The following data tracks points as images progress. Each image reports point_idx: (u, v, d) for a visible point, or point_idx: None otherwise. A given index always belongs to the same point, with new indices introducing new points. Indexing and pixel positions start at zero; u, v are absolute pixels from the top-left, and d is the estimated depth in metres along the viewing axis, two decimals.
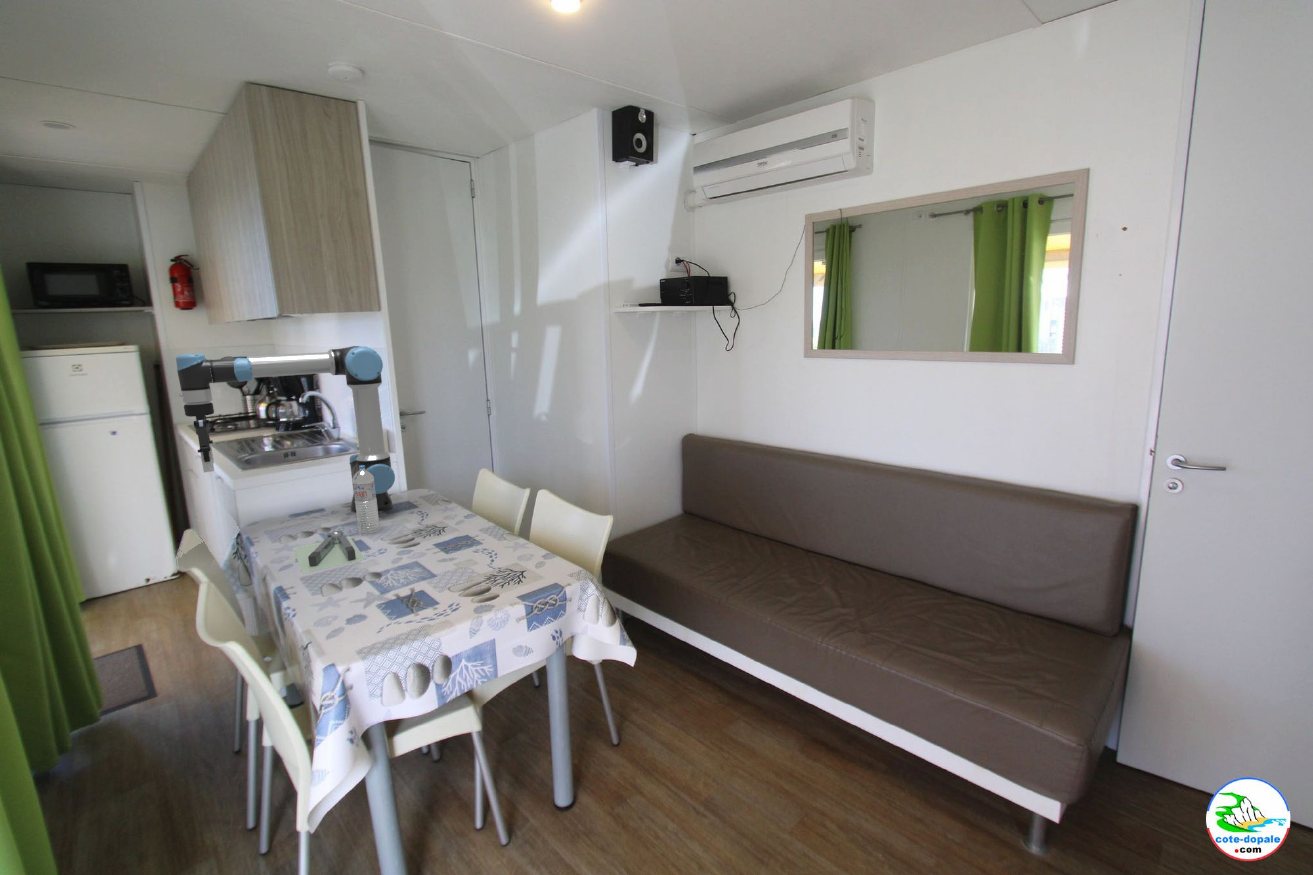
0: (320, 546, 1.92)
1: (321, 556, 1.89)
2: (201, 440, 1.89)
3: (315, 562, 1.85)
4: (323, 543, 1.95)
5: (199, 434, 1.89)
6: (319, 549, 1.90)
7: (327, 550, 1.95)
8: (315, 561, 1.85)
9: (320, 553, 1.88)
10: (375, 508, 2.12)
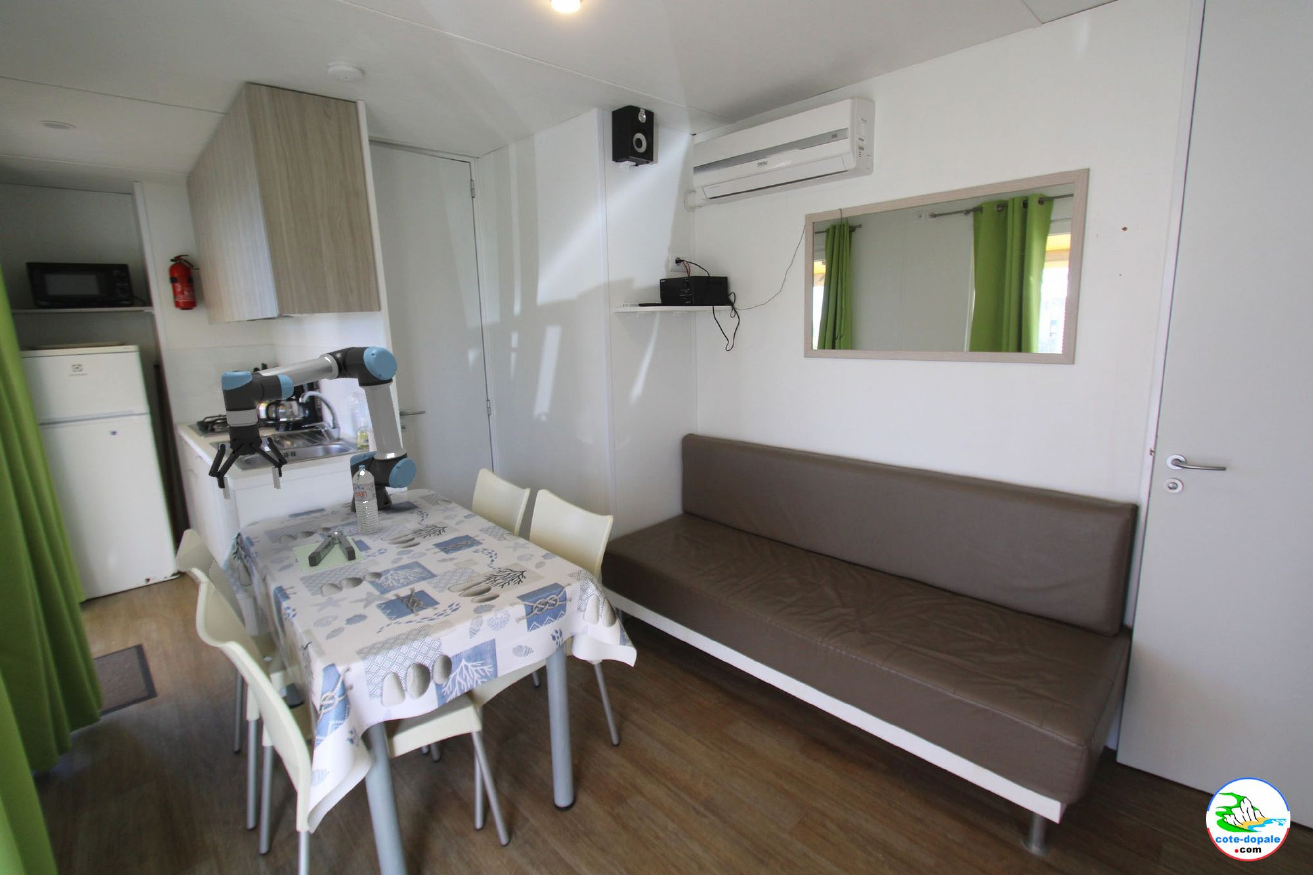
0: (320, 546, 1.92)
1: (321, 556, 1.89)
2: (212, 465, 1.76)
3: (315, 562, 1.85)
4: (323, 543, 1.95)
5: (215, 458, 1.77)
6: (319, 549, 1.90)
7: (327, 550, 1.95)
8: (315, 561, 1.85)
9: (320, 553, 1.88)
10: (375, 508, 2.12)
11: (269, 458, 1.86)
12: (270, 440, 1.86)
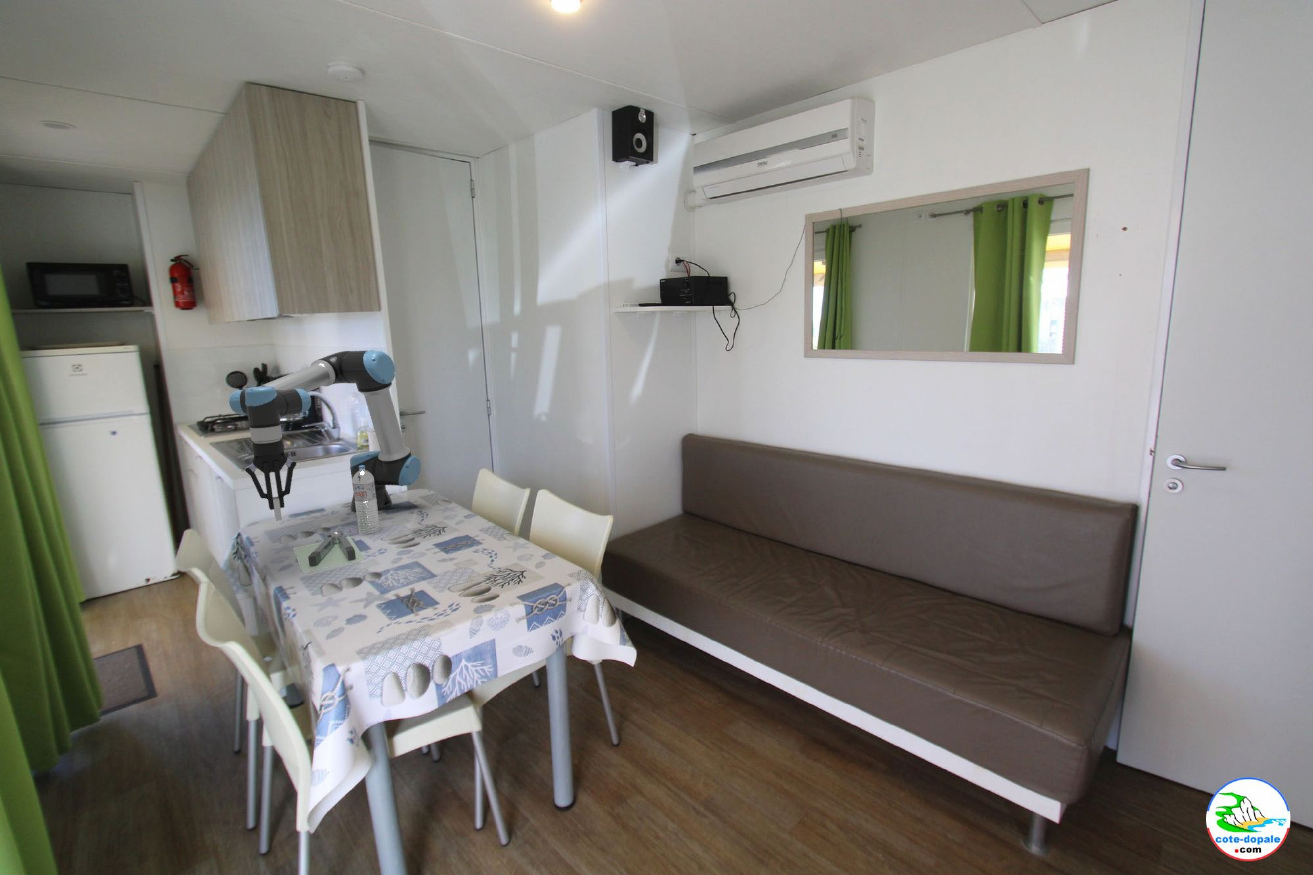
0: (320, 546, 1.92)
1: (321, 556, 1.89)
2: None
3: (315, 562, 1.85)
4: (323, 543, 1.95)
5: None
6: (319, 549, 1.90)
7: (327, 550, 1.95)
8: (315, 561, 1.85)
9: (320, 553, 1.88)
10: (375, 508, 2.12)
11: (278, 483, 1.78)
12: (293, 465, 1.79)
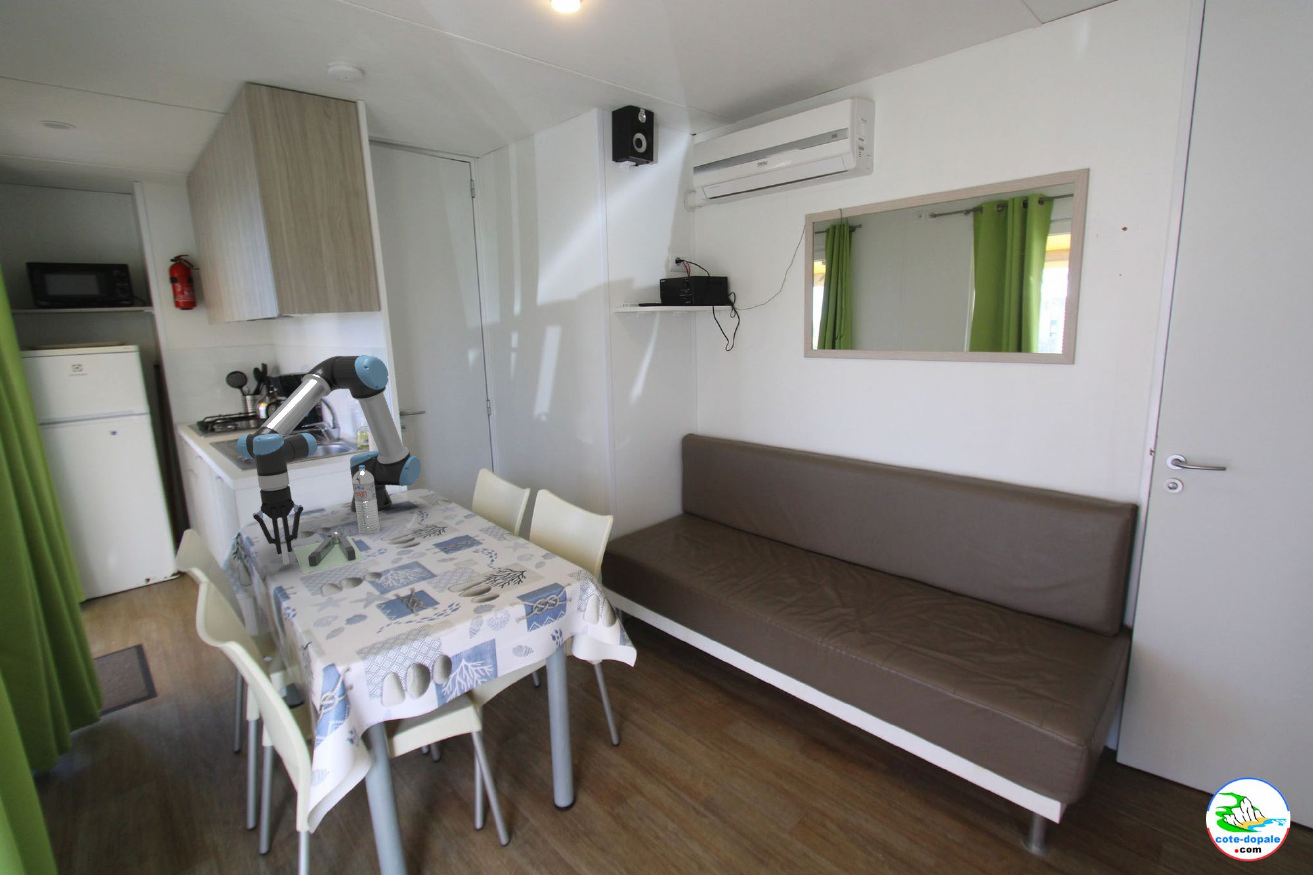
0: (320, 546, 1.92)
1: (321, 556, 1.89)
2: None
3: (315, 562, 1.85)
4: (323, 543, 1.95)
5: None
6: (319, 549, 1.90)
7: (327, 550, 1.95)
8: (315, 561, 1.85)
9: (320, 553, 1.88)
10: (375, 508, 2.12)
11: (286, 528, 1.80)
12: (300, 510, 1.82)
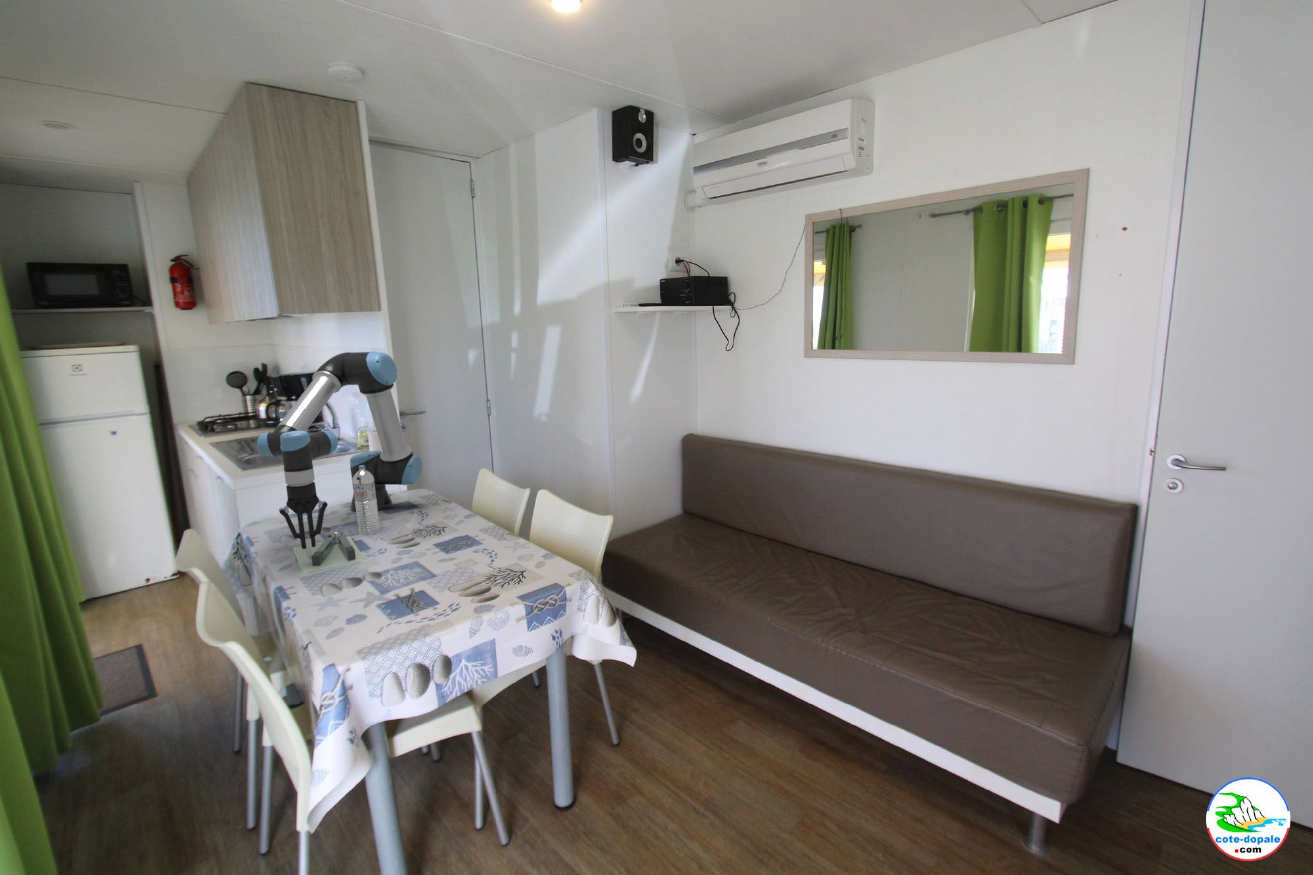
0: (322, 546, 1.92)
1: (324, 556, 1.89)
2: None
3: (319, 562, 1.85)
4: (324, 543, 1.95)
5: None
6: (321, 549, 1.90)
7: (329, 550, 1.95)
8: (318, 561, 1.85)
9: (323, 553, 1.89)
10: (375, 508, 2.12)
11: (310, 524, 1.84)
12: (324, 506, 1.86)
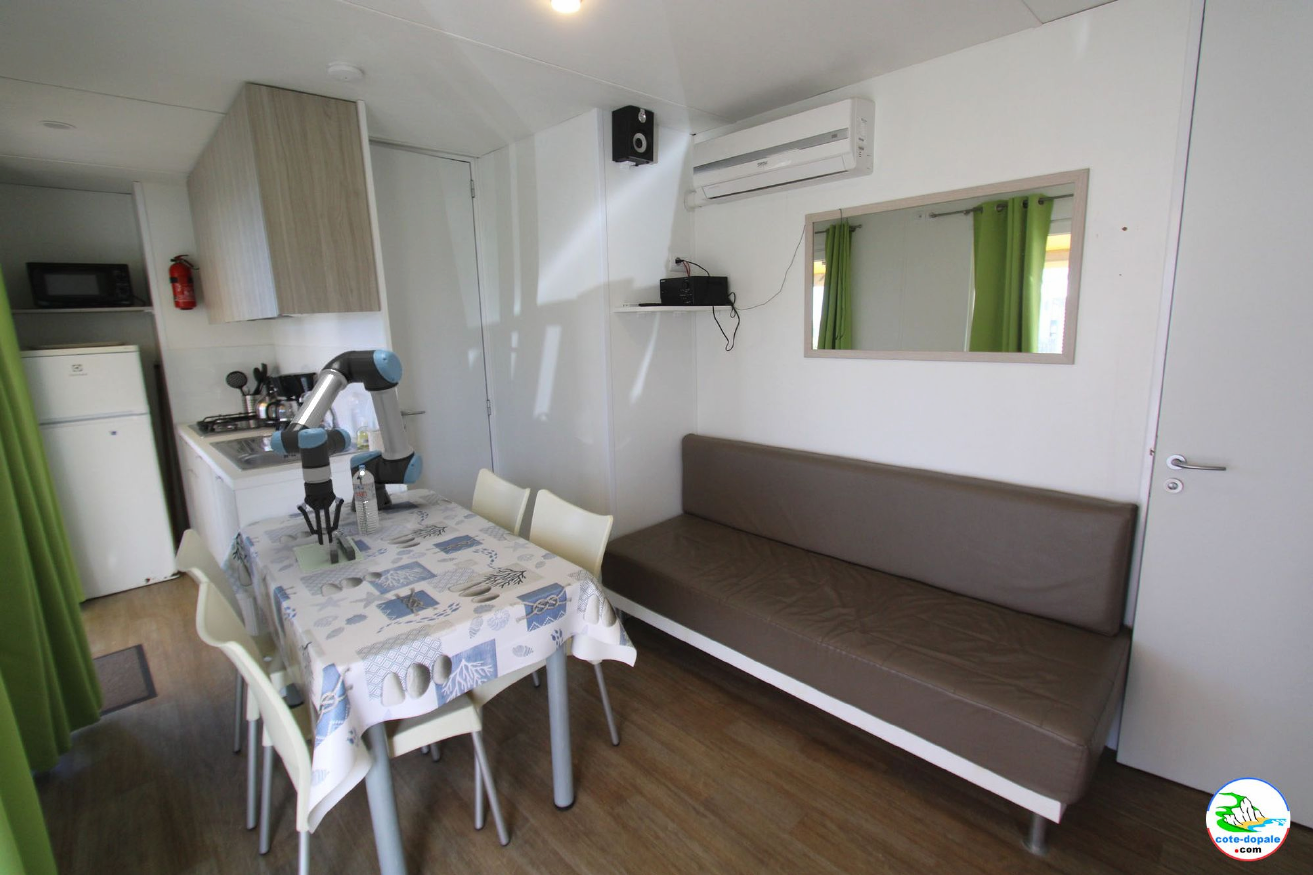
0: (332, 545, 1.93)
1: None
2: None
3: (337, 559, 1.87)
4: (332, 542, 1.95)
5: None
6: (334, 547, 1.91)
7: (337, 549, 1.96)
8: (337, 558, 1.87)
9: None
10: (375, 508, 2.12)
11: (327, 520, 1.87)
12: (341, 502, 1.88)
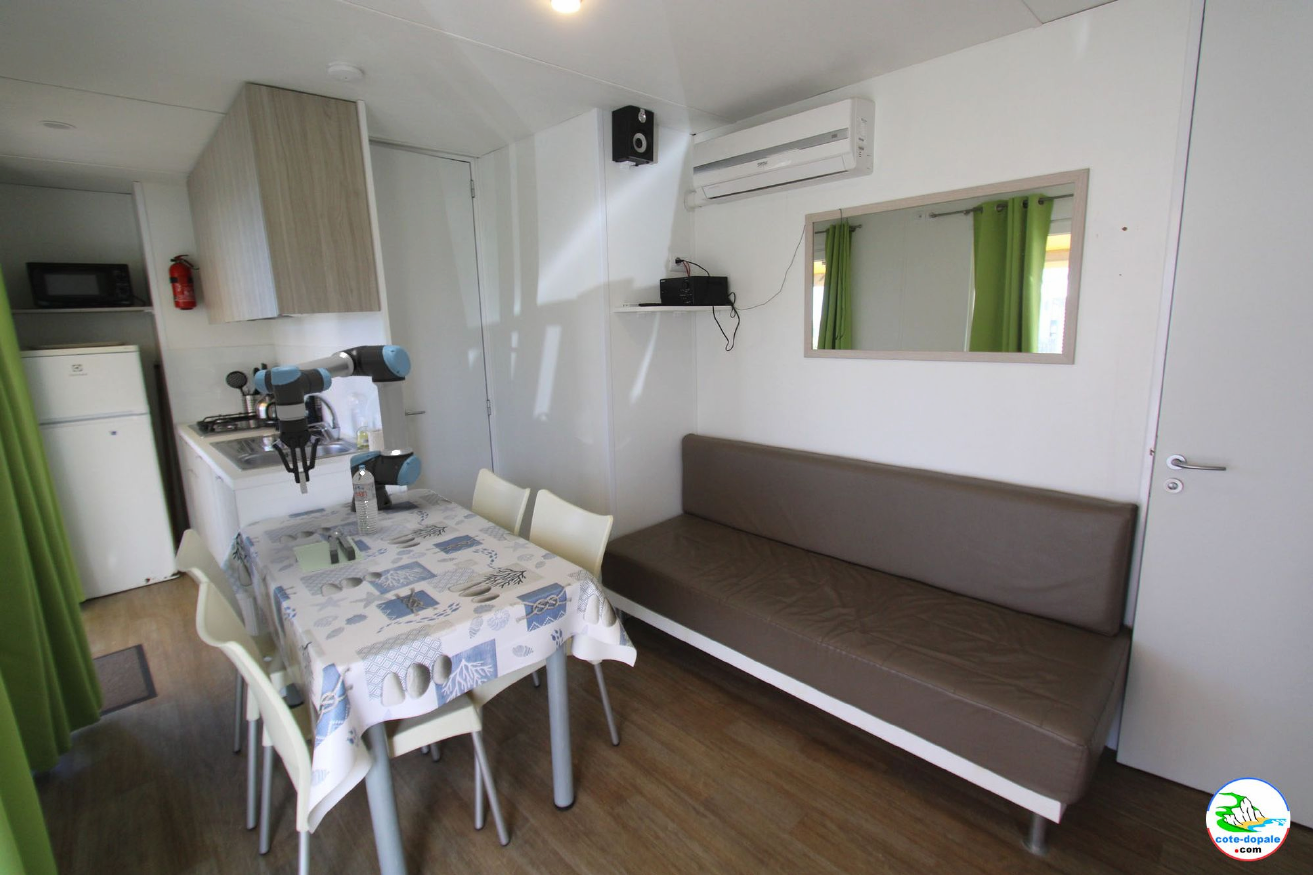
0: (332, 545, 1.93)
1: None
2: (283, 462, 1.85)
3: (337, 559, 1.87)
4: (332, 542, 1.95)
5: (280, 456, 1.84)
6: (334, 547, 1.91)
7: None
8: (337, 558, 1.87)
9: None
10: (375, 508, 2.12)
11: (303, 458, 1.87)
12: (317, 441, 1.88)
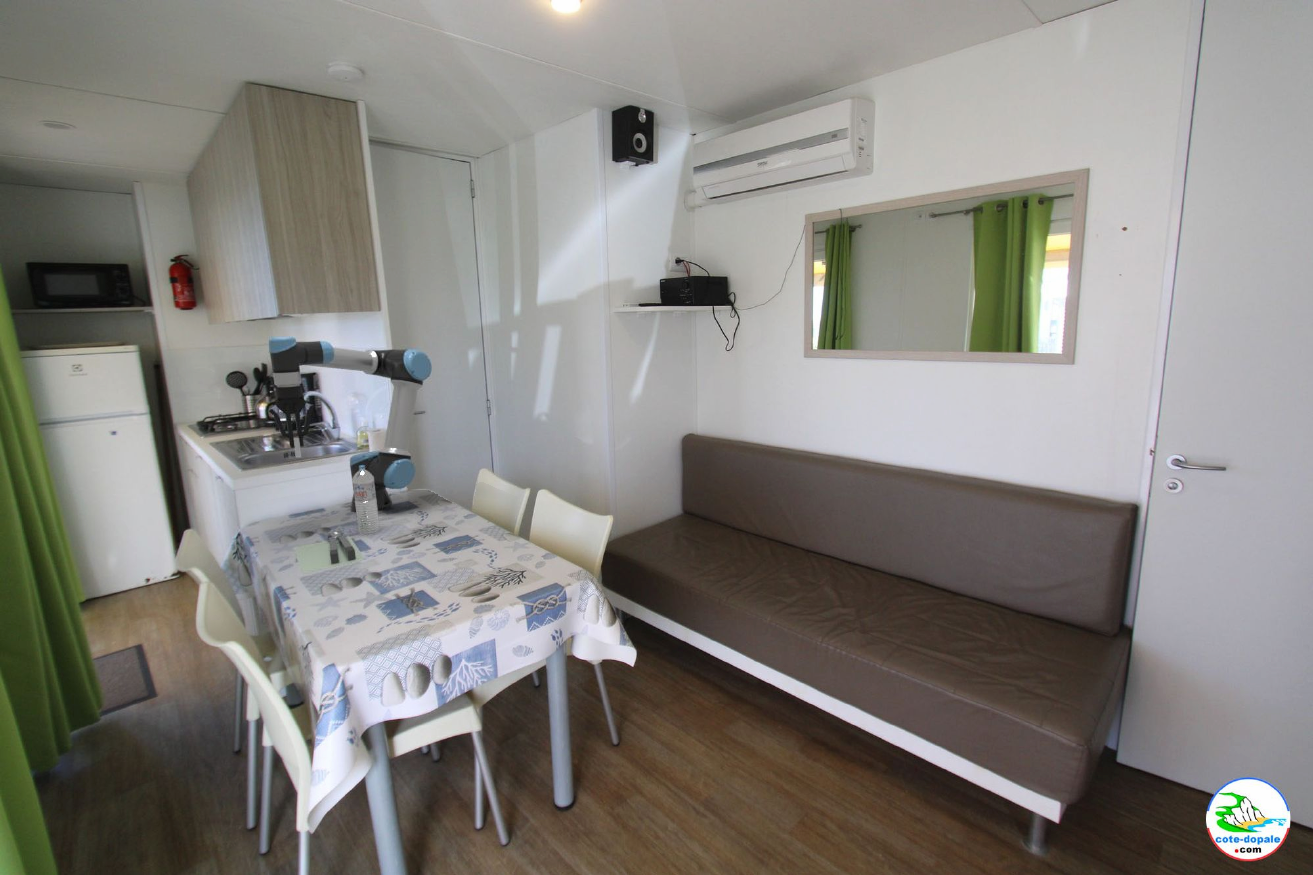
0: (332, 545, 1.93)
1: None
2: None
3: (337, 559, 1.87)
4: (332, 542, 1.95)
5: (276, 421, 1.96)
6: (334, 547, 1.91)
7: None
8: (337, 558, 1.87)
9: None
10: (375, 508, 2.12)
11: (298, 424, 1.98)
12: (311, 408, 2.00)
